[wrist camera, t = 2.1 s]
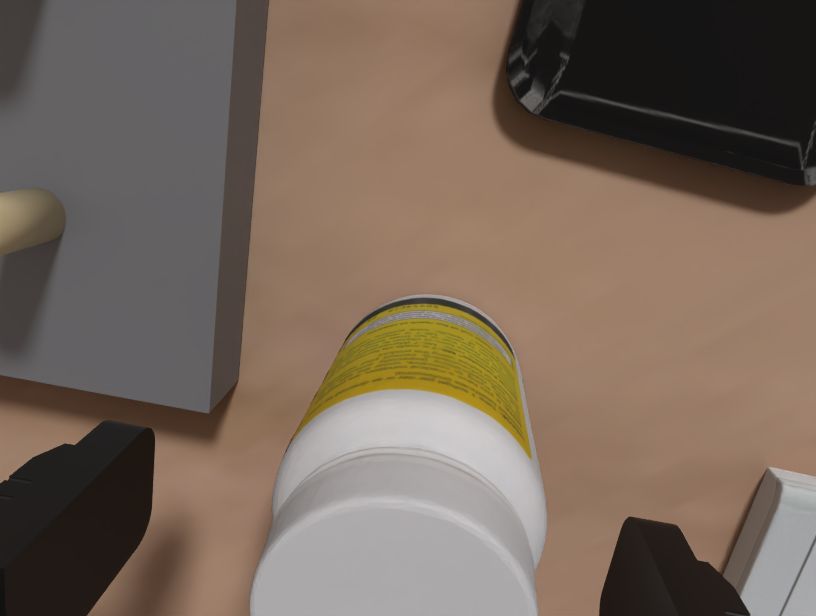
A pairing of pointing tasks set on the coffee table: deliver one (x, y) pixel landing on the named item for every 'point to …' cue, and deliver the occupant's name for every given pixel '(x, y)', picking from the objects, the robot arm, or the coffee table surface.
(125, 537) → the robot arm
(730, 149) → the phone
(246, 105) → the standoff chassis
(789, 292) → the coffee table surface
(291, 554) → the supplement bottle
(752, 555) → the hard drive
